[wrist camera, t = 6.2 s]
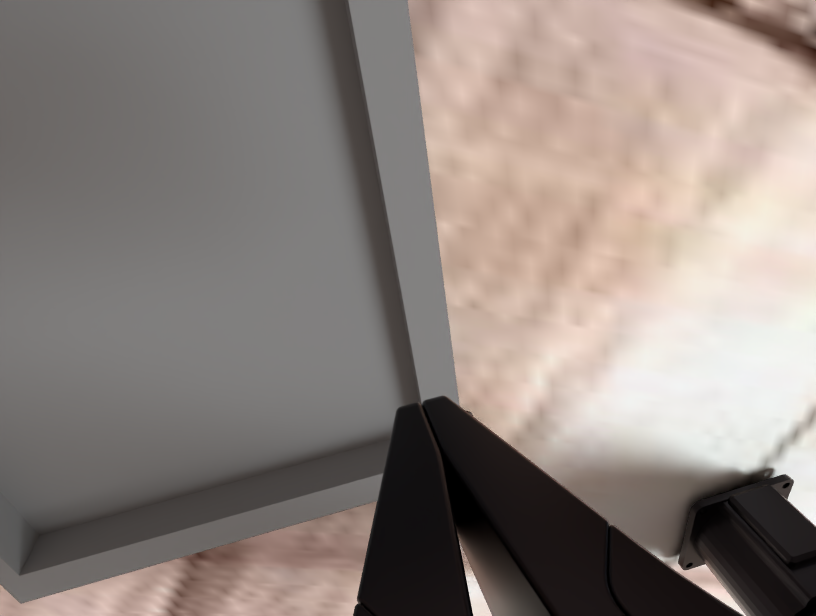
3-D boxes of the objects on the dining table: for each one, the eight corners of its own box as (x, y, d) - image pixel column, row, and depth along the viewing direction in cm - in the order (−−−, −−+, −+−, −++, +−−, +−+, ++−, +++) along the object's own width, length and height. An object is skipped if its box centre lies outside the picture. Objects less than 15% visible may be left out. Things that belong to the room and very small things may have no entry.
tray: (473, 435, 22) (489, 468, 20) (24, 560, 20) (0, 609, 18) (396, -249, 11) (416, -303, 9) (-646, -130, 9) (-872, -171, 7)
